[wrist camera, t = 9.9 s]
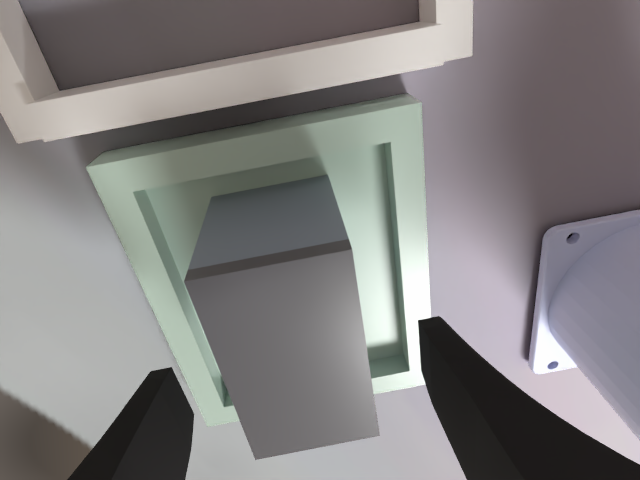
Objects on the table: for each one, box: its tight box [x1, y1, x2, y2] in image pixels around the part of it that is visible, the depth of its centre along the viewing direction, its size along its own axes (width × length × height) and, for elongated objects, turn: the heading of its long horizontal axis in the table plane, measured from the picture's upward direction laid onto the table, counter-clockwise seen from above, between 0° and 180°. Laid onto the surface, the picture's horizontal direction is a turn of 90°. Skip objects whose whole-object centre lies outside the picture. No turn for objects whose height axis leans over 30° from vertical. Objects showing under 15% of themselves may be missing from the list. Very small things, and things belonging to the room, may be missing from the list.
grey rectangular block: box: [184, 175, 380, 460], centre depth 14 cm, size 4×7×5 cm, turn 9°
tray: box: [86, 93, 431, 427], centre depth 16 cm, size 10×12×2 cm
